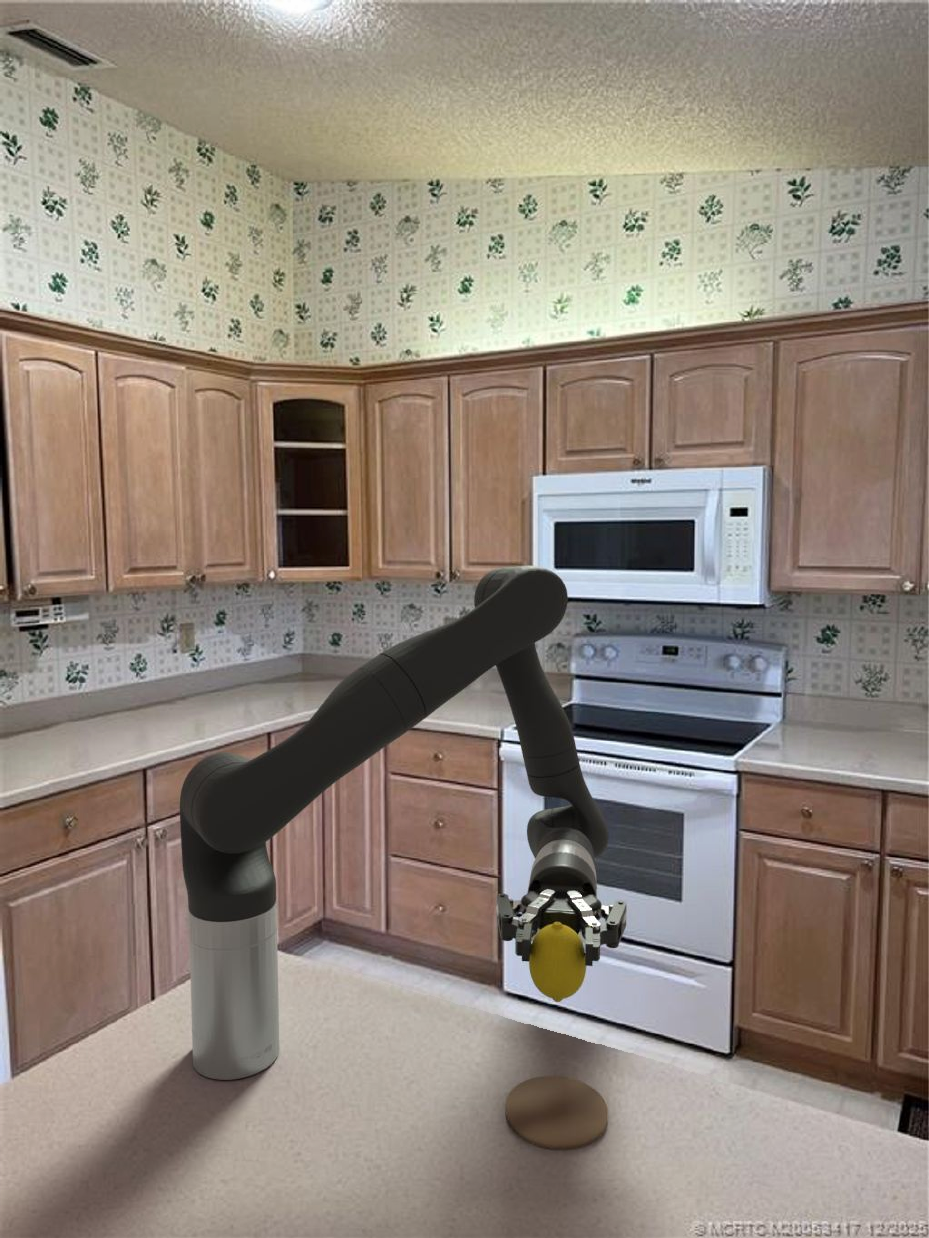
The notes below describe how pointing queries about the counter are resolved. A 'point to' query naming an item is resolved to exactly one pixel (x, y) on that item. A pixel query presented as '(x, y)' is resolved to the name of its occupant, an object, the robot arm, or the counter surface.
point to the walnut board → (556, 1112)
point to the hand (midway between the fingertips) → (557, 953)
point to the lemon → (557, 961)
